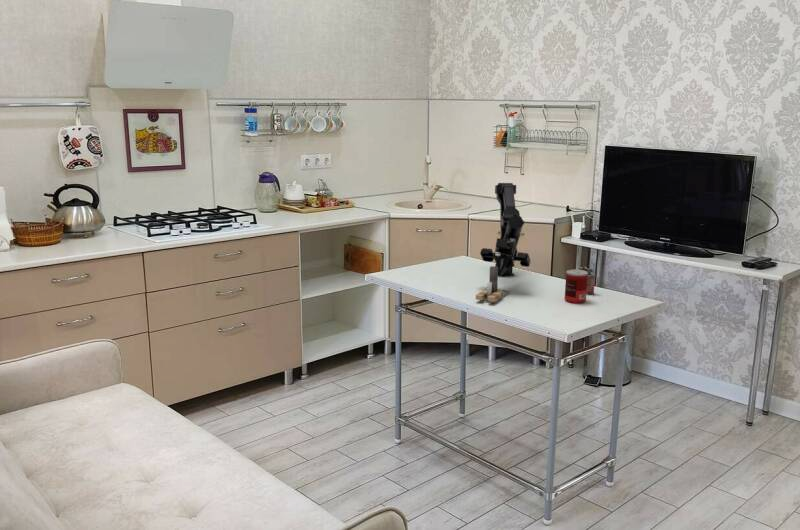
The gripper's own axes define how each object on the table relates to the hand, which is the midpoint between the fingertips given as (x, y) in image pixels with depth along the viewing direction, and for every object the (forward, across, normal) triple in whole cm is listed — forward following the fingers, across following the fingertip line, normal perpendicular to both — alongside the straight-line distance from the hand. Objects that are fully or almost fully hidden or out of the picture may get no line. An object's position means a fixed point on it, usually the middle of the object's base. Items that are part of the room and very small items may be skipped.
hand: (499, 275), depth 267 cm
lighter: (-8, +28, +18) cm, 34 cm away
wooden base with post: (+11, 0, -3) cm, 12 cm away
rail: (+8, 0, +2) cm, 9 cm away
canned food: (+1, +28, +9) cm, 29 cm away
